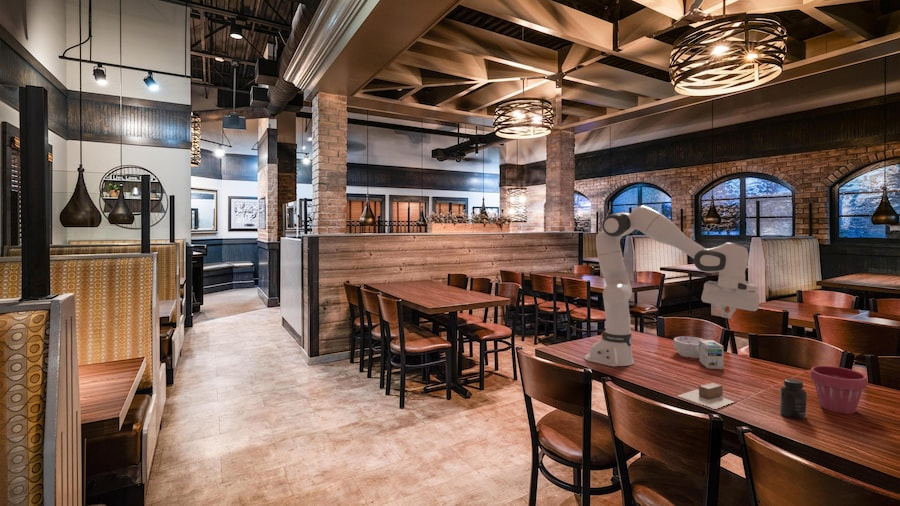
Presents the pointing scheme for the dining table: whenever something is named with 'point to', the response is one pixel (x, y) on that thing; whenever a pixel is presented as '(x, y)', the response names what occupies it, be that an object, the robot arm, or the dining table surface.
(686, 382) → the dining table surface
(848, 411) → the plant pot
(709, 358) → the light bulb box
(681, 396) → the plate
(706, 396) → the wooden block
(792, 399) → the supplement bottle
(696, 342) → the paper bowls
